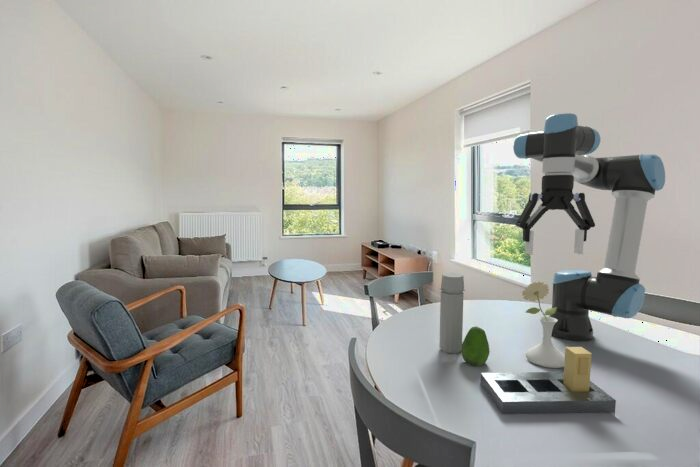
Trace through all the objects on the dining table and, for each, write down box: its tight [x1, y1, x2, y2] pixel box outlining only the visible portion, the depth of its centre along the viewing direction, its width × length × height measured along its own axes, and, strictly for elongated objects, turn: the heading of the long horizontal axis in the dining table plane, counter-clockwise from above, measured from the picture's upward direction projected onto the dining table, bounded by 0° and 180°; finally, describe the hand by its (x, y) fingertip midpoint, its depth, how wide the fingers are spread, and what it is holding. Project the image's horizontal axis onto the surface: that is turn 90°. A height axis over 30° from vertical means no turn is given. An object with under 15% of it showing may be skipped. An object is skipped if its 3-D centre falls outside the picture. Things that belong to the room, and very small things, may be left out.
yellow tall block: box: [563, 346, 593, 392], centre depth 93 cm, size 4×5×12 cm
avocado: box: [460, 326, 491, 367], centre depth 113 cm, size 8×8×12 cm
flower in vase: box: [522, 281, 565, 369], centre depth 114 cm, size 13×11×25 cm
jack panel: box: [480, 371, 617, 417], centre depth 94 cm, size 26×14×4 cm, turn 91°
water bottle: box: [439, 272, 466, 355], centre depth 125 cm, size 9×8×25 cm
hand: (553, 253), depth 104 cm, fingers open, 13 cm apart
